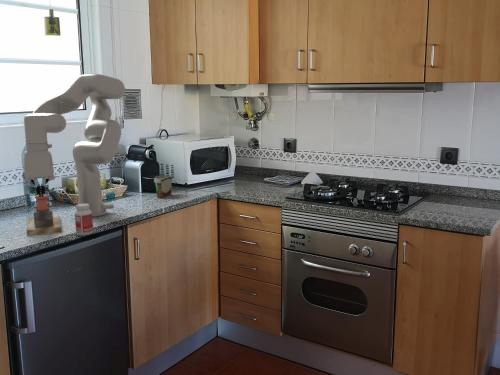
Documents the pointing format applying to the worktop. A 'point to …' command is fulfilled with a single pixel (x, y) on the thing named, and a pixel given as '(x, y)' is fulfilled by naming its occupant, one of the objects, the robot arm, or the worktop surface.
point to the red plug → (42, 203)
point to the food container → (163, 186)
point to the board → (43, 222)
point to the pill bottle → (83, 220)
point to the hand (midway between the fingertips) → (41, 195)
